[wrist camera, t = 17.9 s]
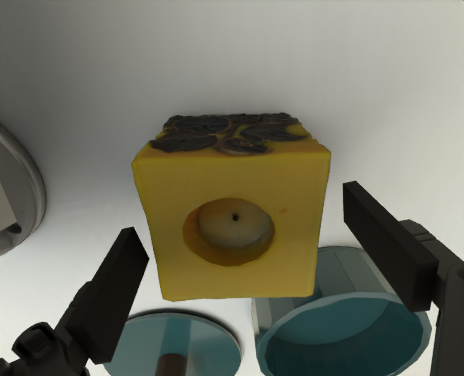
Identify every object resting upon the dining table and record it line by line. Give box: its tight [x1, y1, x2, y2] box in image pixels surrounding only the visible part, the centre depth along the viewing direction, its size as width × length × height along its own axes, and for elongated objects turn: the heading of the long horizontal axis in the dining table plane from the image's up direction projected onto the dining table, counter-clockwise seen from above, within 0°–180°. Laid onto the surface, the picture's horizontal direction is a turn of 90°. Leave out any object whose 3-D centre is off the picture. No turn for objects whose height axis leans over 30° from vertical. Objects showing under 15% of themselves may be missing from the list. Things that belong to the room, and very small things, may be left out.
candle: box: [131, 113, 331, 302], centre depth 19 cm, size 10×10×10 cm
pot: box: [252, 247, 432, 376], centre depth 29 cm, size 18×18×6 cm
